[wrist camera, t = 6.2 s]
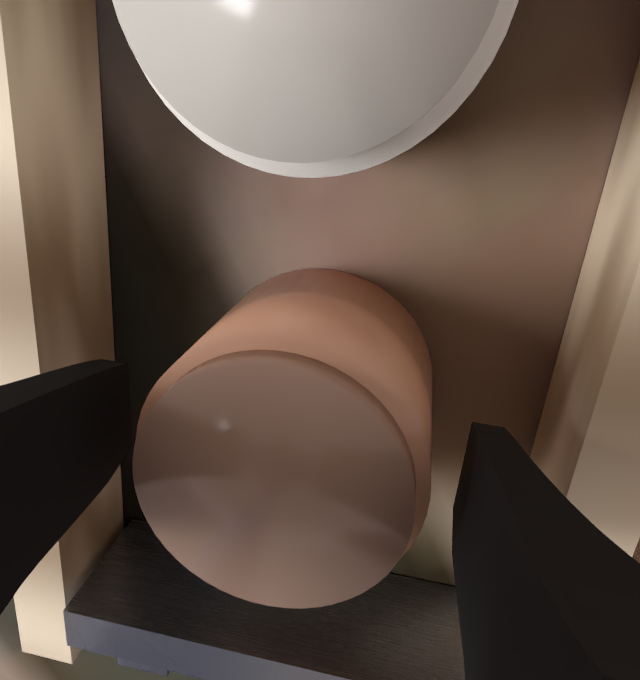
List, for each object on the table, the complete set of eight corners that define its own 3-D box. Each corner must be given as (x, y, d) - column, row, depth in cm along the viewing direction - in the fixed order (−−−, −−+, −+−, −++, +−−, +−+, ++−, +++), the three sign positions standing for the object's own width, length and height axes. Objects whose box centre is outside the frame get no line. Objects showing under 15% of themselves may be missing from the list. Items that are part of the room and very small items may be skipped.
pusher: (454, 695, 17) (458, 826, 14) (137, 619, 19) (75, 723, 16) (481, 592, 16) (492, 713, 13) (132, 518, 17) (63, 610, 14)
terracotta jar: (404, 488, 15) (390, 651, 11) (208, 439, 16) (116, 573, 11) (457, 296, 13) (469, 396, 8) (228, 247, 14) (122, 314, 9)
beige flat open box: (526, 672, 16) (544, 783, 14) (84, 571, 18) (22, 651, 16) (839, -286, 9) (1031, -476, 6) (6, -284, 11) (-145, -427, 8)
